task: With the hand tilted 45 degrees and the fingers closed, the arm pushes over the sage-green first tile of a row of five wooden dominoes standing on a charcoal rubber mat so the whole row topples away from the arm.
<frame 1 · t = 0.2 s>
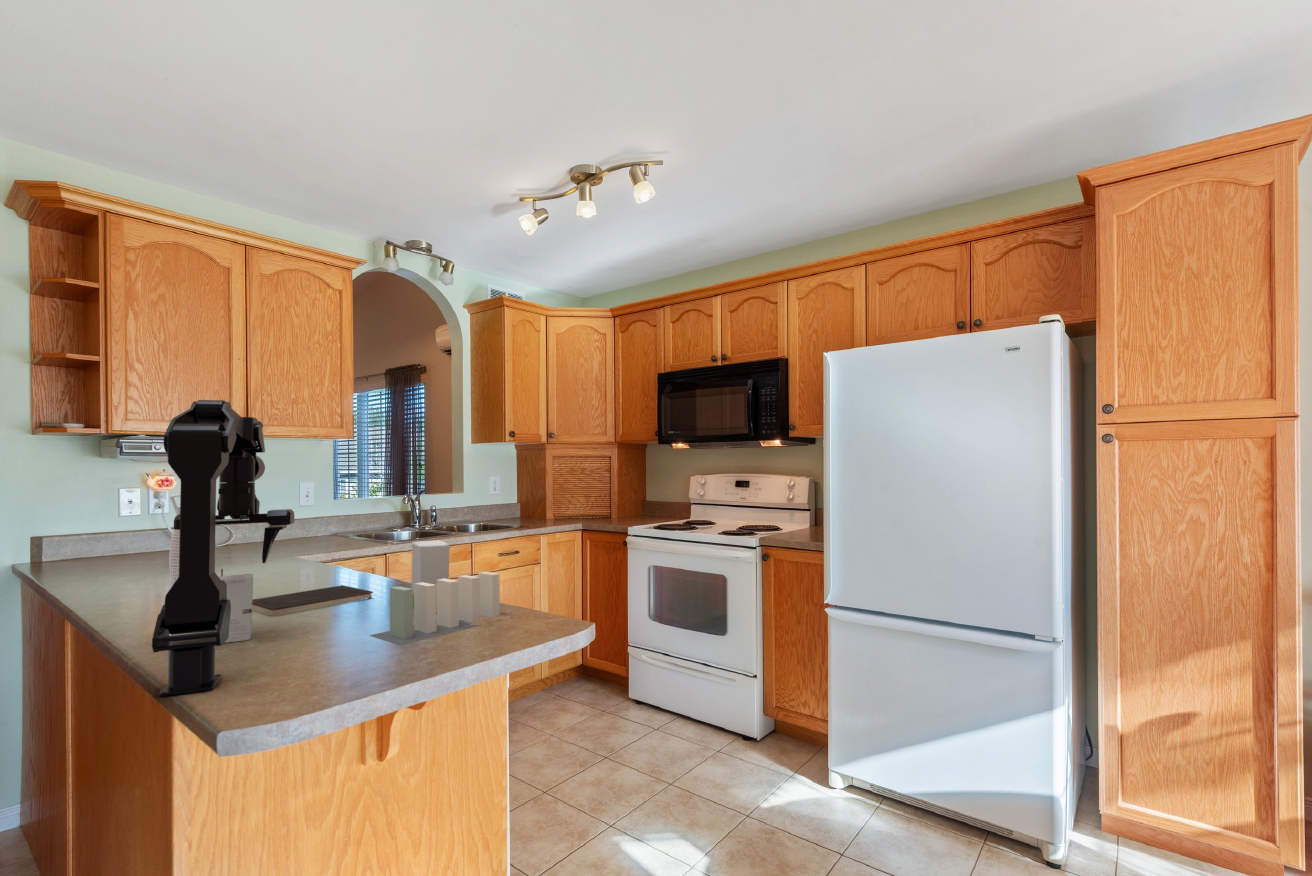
hand: (236, 564, 123), 14 cm above the countertop, tool pointing down, fingers open, 9 cm apart
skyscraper: (193, 636, 127), on the countertop
hardcover book: (310, 606, 156), on the countertop
skincare box 2: (233, 640, 124), on the countertop
skincare box: (430, 613, 144), on the countertop
domino 2: (425, 630, 127), resting on mat
domino 5: (488, 615, 138), resting on mat
domino 4: (468, 620, 134), resting on mat
domino 3: (447, 625, 130), resting on mat
mat: (445, 627, 130), on the countertop
domino 1: (401, 635, 123), resting on mat
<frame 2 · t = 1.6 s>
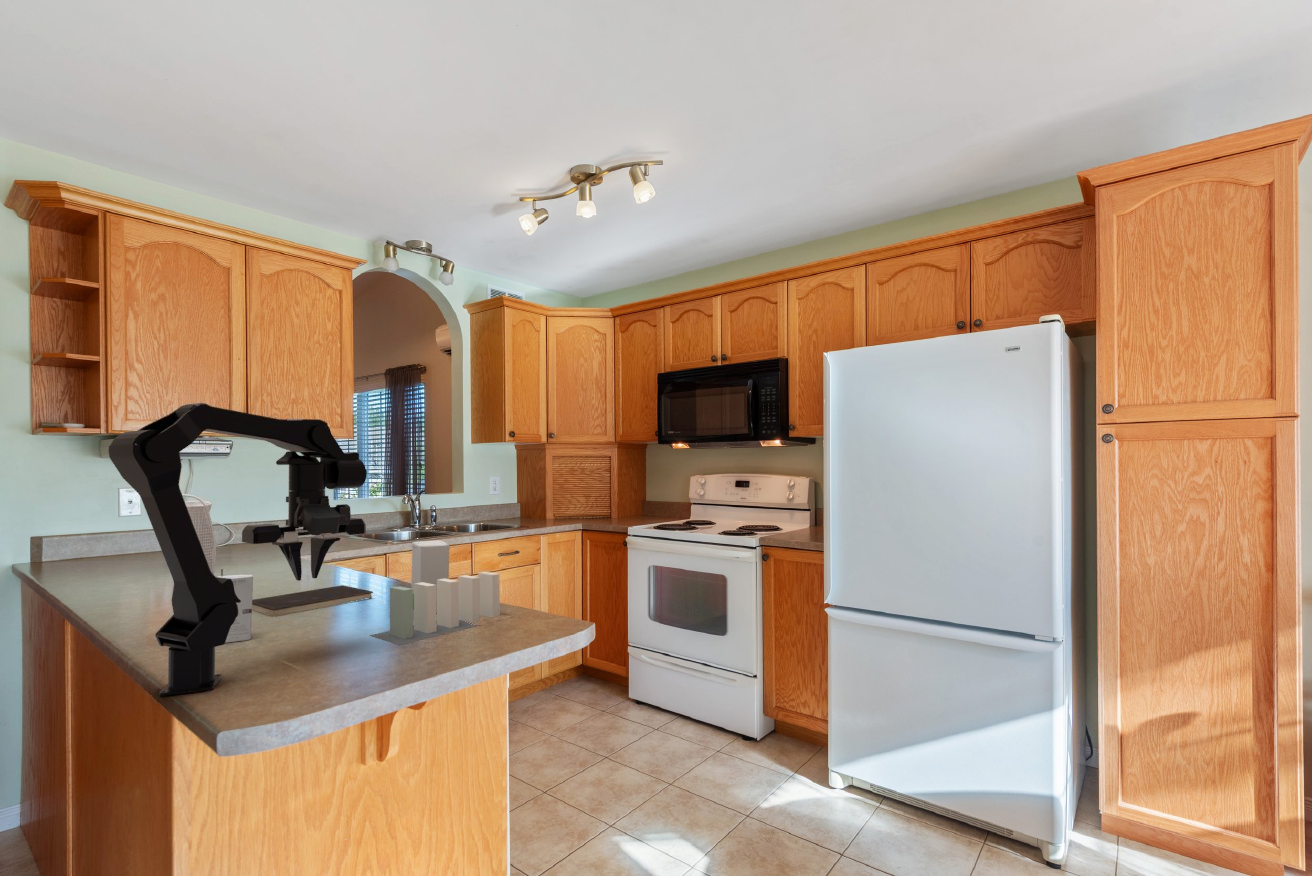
hand: (306, 579, 114), 13 cm above the countertop, tool pointing down, fingers closed
nothing on the countertop moved.
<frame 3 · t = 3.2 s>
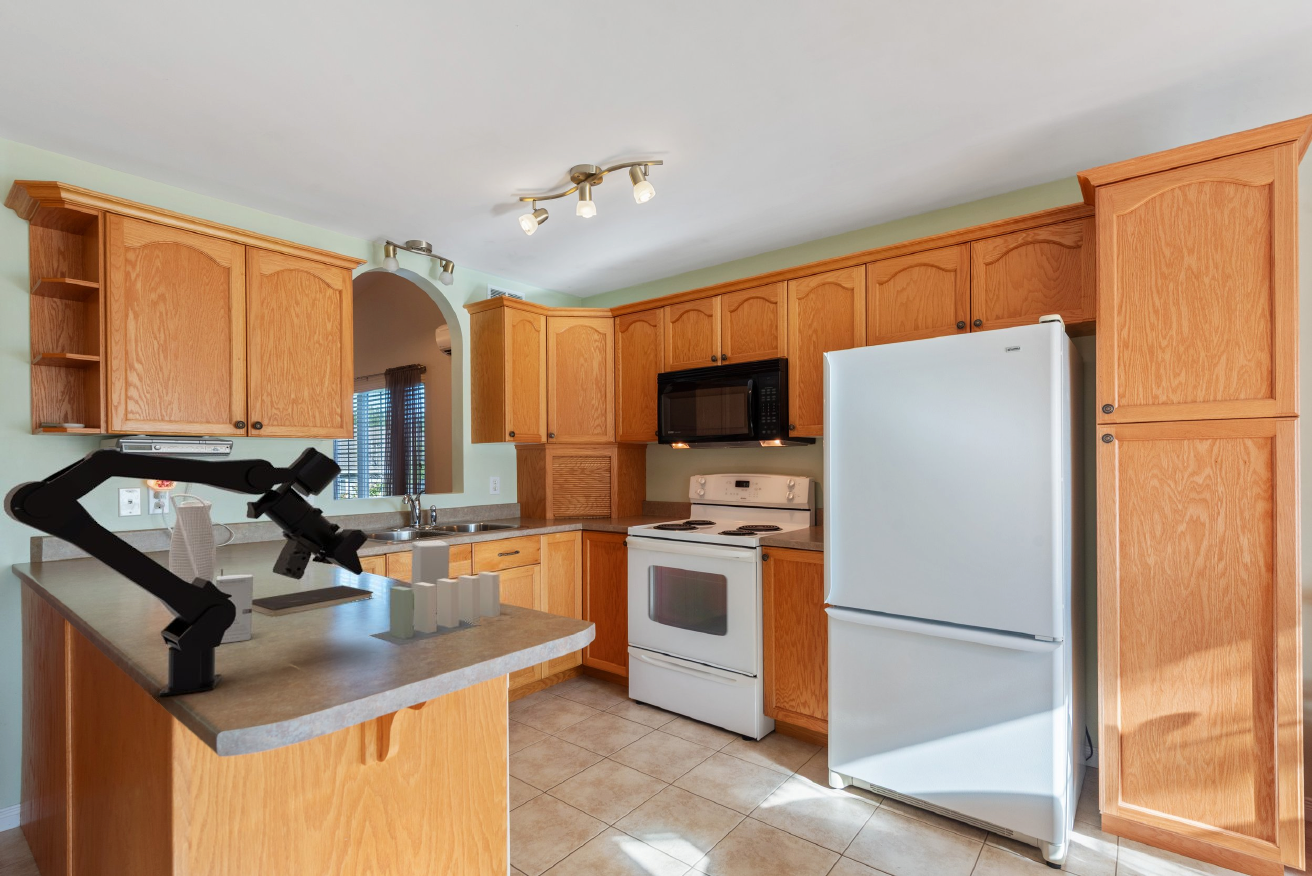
hand: (360, 573, 117), 13 cm above the countertop, tool tilted 45°, fingers closed
nothing on the countertop moved.
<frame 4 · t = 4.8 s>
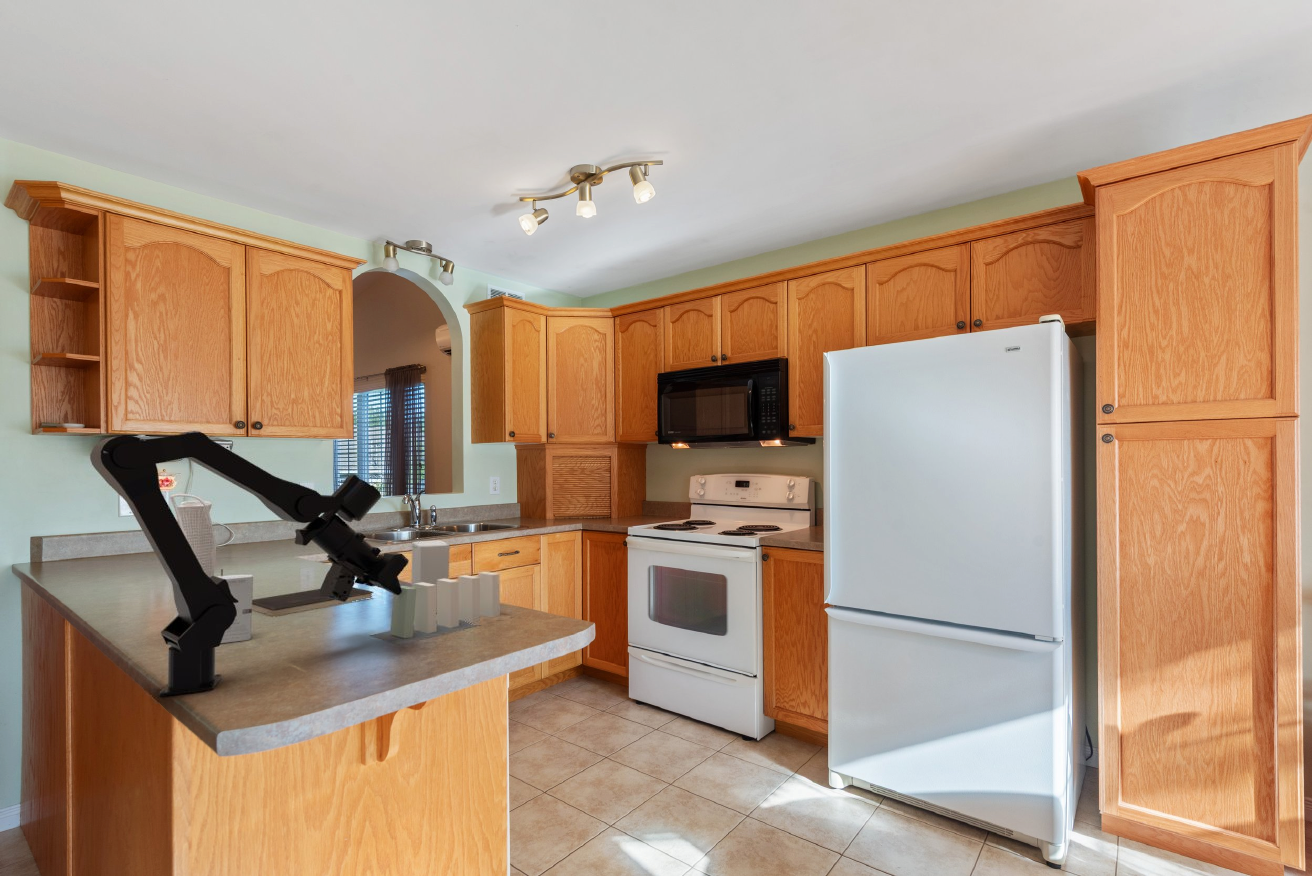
hand: (399, 593, 123), 9 cm above the countertop, tool tilted 45°, fingers closed, pressing on domino 1
domino 1: (401, 635, 123), resting on mat, tilted 5°, touching gripper
everything else where it was.
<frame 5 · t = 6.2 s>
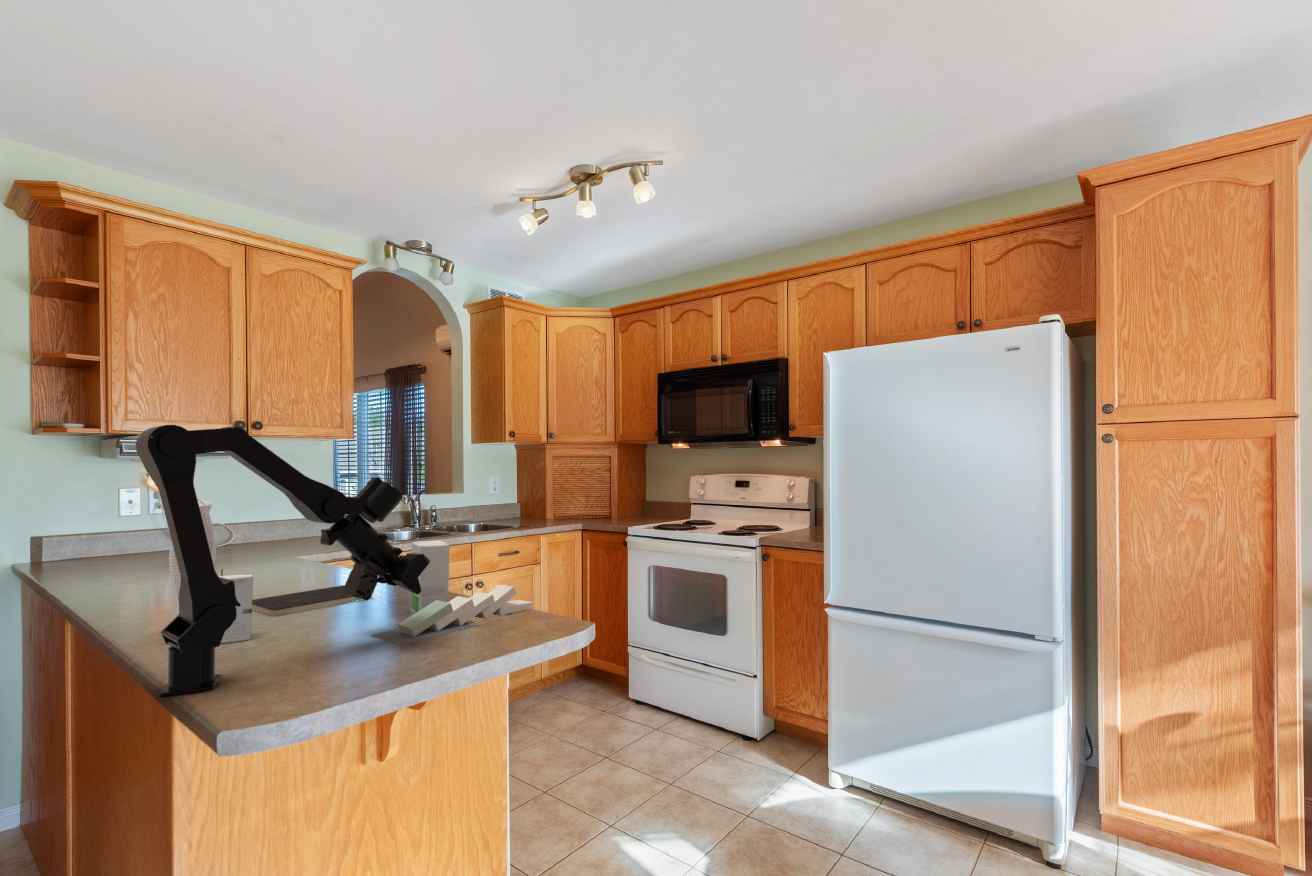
hand: (419, 592, 126), 8 cm above the countertop, tool tilted 45°, fingers closed
domino 2: (429, 625, 127), point 1 cm above the countertop, tilted 69°, touching domino 1, domino 3, mat
domino 5: (493, 609, 139), point 1 cm above the countertop, tilted 94°, touching domino 4, mat
domino 4: (476, 613, 136), point 1 cm above the countertop, tilted 64°, touching domino 3, domino 5
domino 3: (452, 619, 131), point 1 cm above the countertop, tilted 69°, touching domino 2, domino 4, mat
domino 1: (406, 630, 124), point 1 cm above the countertop, tilted 69°, touching domino 2, mat
everything else where it was.
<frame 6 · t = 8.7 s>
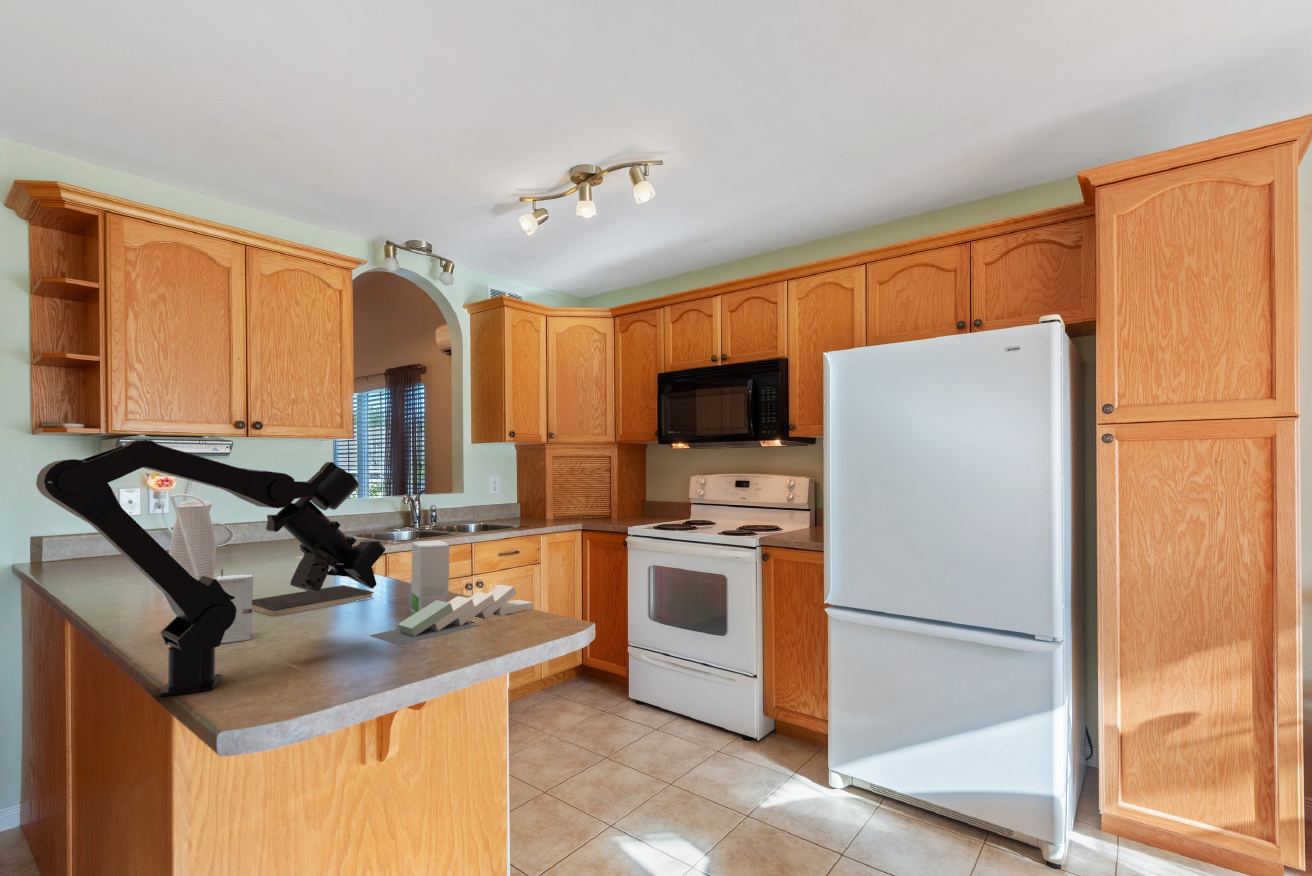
hand: (373, 586, 119), 11 cm above the countertop, tool tilted 45°, fingers closed
nothing on the countertop moved.
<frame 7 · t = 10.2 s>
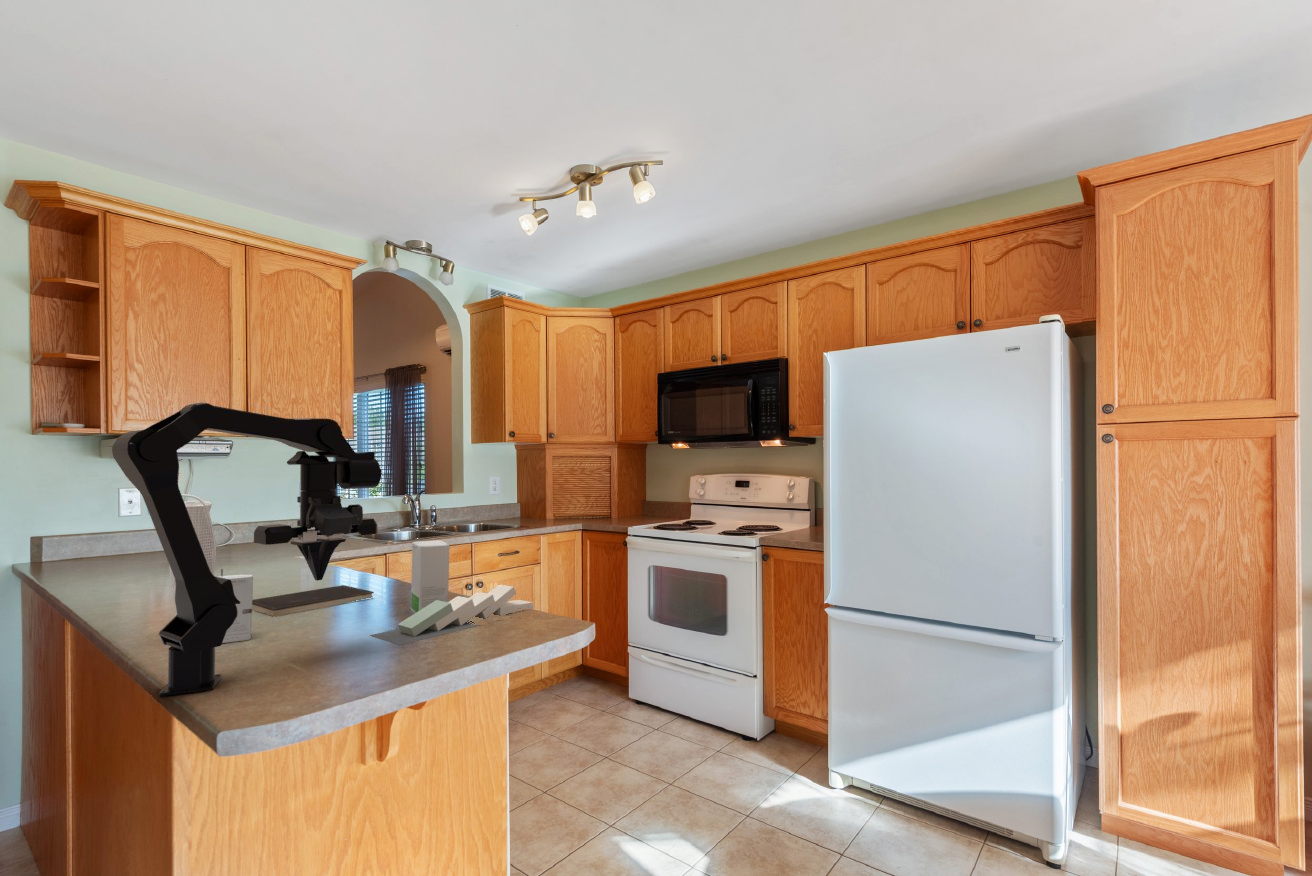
hand: (318, 580, 113), 13 cm above the countertop, tool pointing down, fingers closed
nothing on the countertop moved.
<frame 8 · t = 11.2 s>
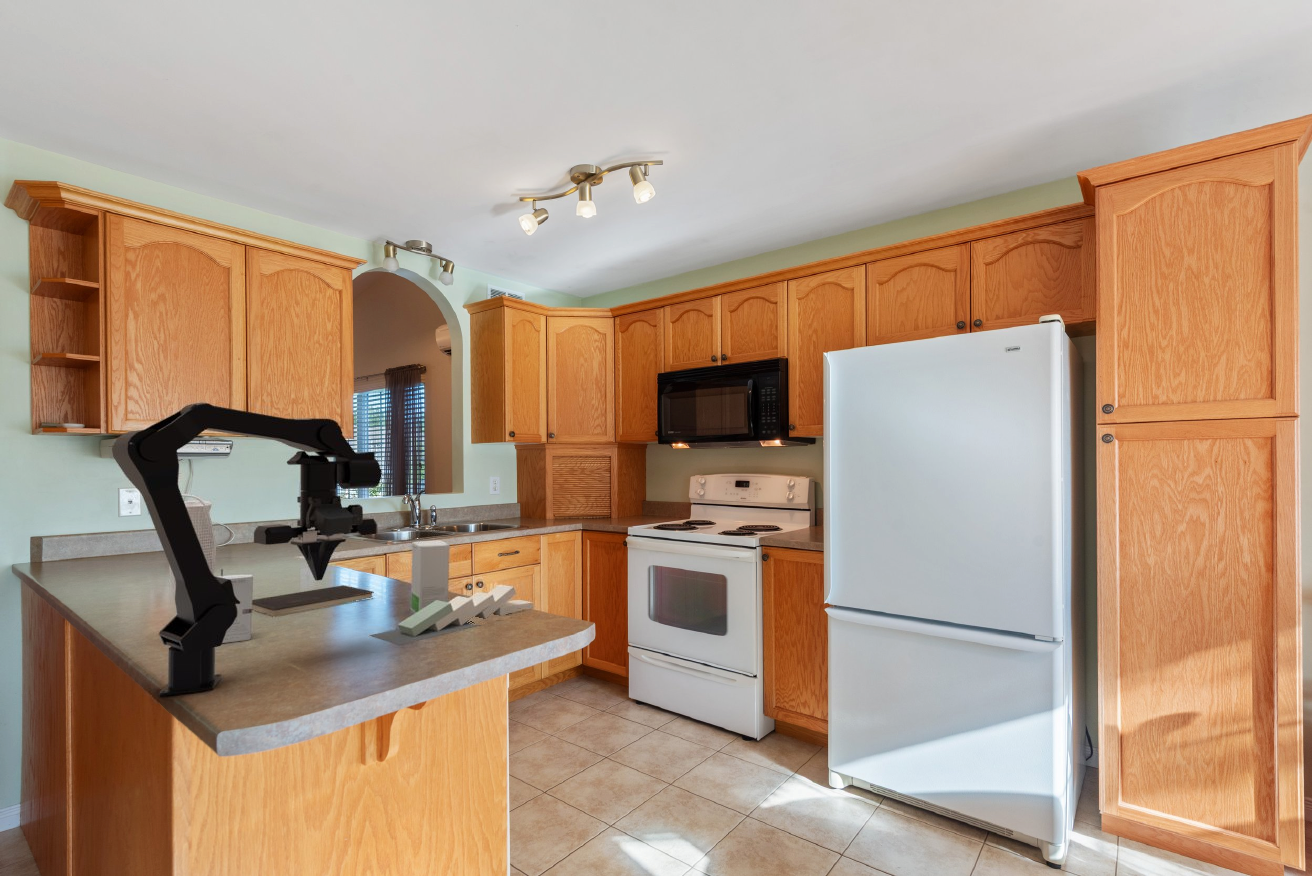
hand: (318, 580, 113), 13 cm above the countertop, tool pointing down, fingers closed
nothing on the countertop moved.
at the end: domino 5 tilted 94°; domino 1 tilted 69° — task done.
